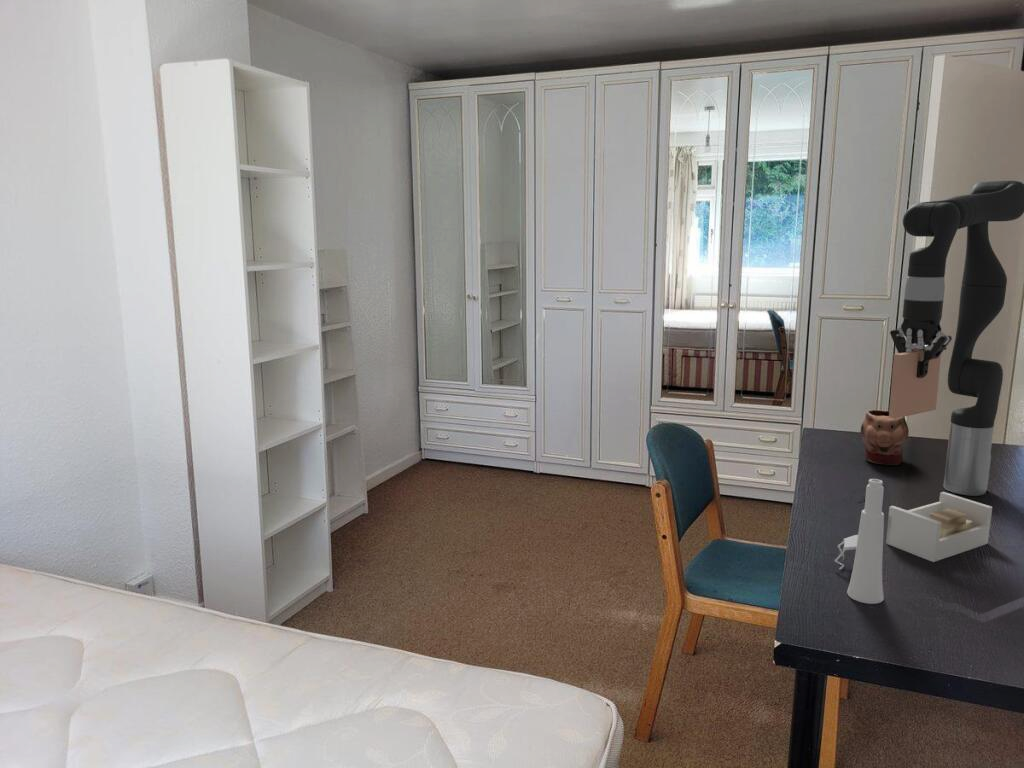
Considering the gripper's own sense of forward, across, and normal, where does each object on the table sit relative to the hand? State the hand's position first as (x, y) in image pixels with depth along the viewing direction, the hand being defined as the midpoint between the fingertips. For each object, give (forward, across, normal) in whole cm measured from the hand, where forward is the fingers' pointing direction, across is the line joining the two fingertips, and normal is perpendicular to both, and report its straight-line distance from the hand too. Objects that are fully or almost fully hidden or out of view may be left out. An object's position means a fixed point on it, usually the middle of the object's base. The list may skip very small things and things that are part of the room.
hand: (915, 376), depth 169 cm
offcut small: (+27, -16, +9) cm, 33 cm away
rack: (+33, -14, +9) cm, 37 cm away
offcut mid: (+29, -16, +8) cm, 34 cm away
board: (+8, 0, 0) cm, 8 cm away
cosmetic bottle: (+33, -21, +40) cm, 56 cm away
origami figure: (+33, -11, +29) cm, 45 cm away
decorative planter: (+33, +31, -35) cm, 57 cm away
